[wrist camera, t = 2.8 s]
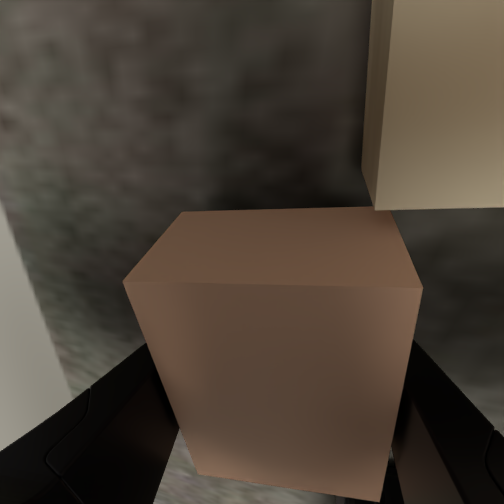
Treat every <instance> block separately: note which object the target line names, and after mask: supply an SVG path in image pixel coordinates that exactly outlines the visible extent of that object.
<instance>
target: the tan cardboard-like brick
mask: <svg viewBox="0 0 504 504" xmlns="http://www.w3.org/2000/svg"><path fill="white" fill-rule="evenodd" d="M122 282H123V285H124V287H125V290H126V292H127V295H128V297H129V300H130V302H131V305H132V308H133V310H134V313H135V315H136V318H137V320H138V323H139V325H140V328H141V330H142V333H143V336H144V338H145V341H146V343H147V346H148V348H149V351H150V353H151V356H152V358H153V361H154V363H155V366H156V369H157V371H158V374H159V376H160V379H161V381H162V384H163V386H164V389H165V391H166V394H167V397H168V399H169V402H170V404H171V407H172V409H173V412H174V414H175V417H176V419H177V422H178V424H179V427H180V430H181V432H182V435H183V437H184V440H185V442H186V445H187V447H188V450H189V452H190V455H191V458H192V460H193V463H194V465H195V468H196V470H197V473H198V474H200V475H207V476H213V477H220V478H226V479H233V480H239V481H245V482H252V483H258V484H265V485H271V486H278V487H284V488H291V489H297V490H304V491H310V492H317V493H323V494H329V495H336V496H342V497H349V498H355V499H362V500H368V501H375V502H380V498H381V493H382V488H383V483H384V478H385V473H386V468H387V463H388V458H389V453H390V449H391V444H392V439H393V434H394V429H395V424H396V419H397V414H398V409H399V404H400V399H401V394H402V390H403V385H404V380H405V375H406V370H407V365H408V360H409V355H410V350H411V345H412V340H413V335H414V331H415V326H416V321H417V316H418V311H419V306H420V301H421V296H422V291H423V286H422V284H421V282H420V279H419V277H418V275H417V272H416V270H415V268H414V265H413V263H412V260H411V258H410V256H409V253H408V251H407V249H406V246H405V244H404V242H403V239H402V237H401V235H400V232H399V230H398V227H397V225H396V223H395V220H394V218H393V216H392V213H391V211H390V210H374V207H373V206H368V207H333V208H297V209H261V210H226V211H190V212H181V213H180V215H179V216H178V217H177V218H176V219H175V220H174V222H173V223H172V224H171V225H170V226H169V227H168V229H167V230H166V231H165V232H164V233H163V234H162V236H161V237H160V238H159V239H158V240H157V241H156V243H155V244H154V245H153V246H152V247H151V248H150V250H149V251H148V252H147V253H146V254H145V255H144V257H143V258H142V259H141V260H140V261H139V262H138V264H137V265H136V266H135V267H134V268H133V269H132V270H131V272H130V273H129V274H128V275H127V276H126V277H125V279H124V280H123V281H122Z"/></svg>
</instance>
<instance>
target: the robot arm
mask: <svg viewBox="0 0 504 504" xmlns="http://www.w3.org/2000/svg"><path fill="white" fill-rule="evenodd" d="M179 428H180V427H179V424H178V422H177V419H176V417H175V414H174V412H173V409H172V407H171V404H170V402H169V399H168V397H167V394H166V391H165V389H164V386H163V384H162V381H161V379H160V376H159V374H158V371H157V369H156V366H155V363H154V361H153V358H152V356H151V353H150V351H149V348H148V346H147V343H145V344H144V345H142V346H141V347H140V348H139V349H137V350H136V351H135V352H134V353H132V354H131V355H130V356H128V357H127V358H126V359H125V360H123V361H122V362H121V363H120V364H118V365H117V366H116V367H114V368H113V369H112V370H111V371H109V372H108V373H107V374H106V375H104V376H103V377H102V378H100V379H99V380H98V381H97V382H95V383H94V384H93V385H92V386H91V387H90V388H88V389H86V390H85V391H84V392H82V393H81V394H80V395H79V396H77V397H76V398H75V399H73V400H72V401H71V402H70V403H68V404H67V405H66V406H64V407H63V408H62V409H60V410H59V411H58V412H56V413H55V414H53V415H52V416H51V417H49V418H48V419H46V420H45V421H44V422H43V423H41V424H39V425H38V426H37V427H35V428H34V429H32V430H31V431H29V432H28V433H26V434H25V435H24V436H22V437H21V438H19V439H18V440H16V441H15V442H13V443H12V444H10V445H9V446H7V447H6V448H5V449H3V450H2V451H0V504H153V502H154V499H155V496H156V493H157V491H158V488H159V485H160V482H161V479H162V476H163V474H164V471H165V468H166V465H167V462H168V459H169V457H170V454H171V451H172V448H173V445H174V442H175V440H176V437H177V434H178V431H179ZM391 447H392V452H393V456H394V460H395V465H396V468H391V467H387V468H386V473H385V478H384V483H383V488H382V493H381V498H380V502H375V501H368V500H362V499H355V498H349V497H342V496H336V500H335V504H504V437H503V436H502V435H501V434H500V432H499V431H497V430H494V426H493V425H492V424H491V423H490V422H489V421H488V420H487V419H486V417H485V416H484V415H483V414H482V413H481V412H480V411H479V410H478V409H477V408H476V407H475V406H474V404H473V403H472V402H471V401H470V400H469V399H468V398H467V397H466V396H465V395H464V394H463V393H462V391H461V390H460V389H459V388H458V387H457V386H456V385H455V384H454V383H453V382H452V381H451V379H450V378H449V377H448V376H447V375H446V374H445V373H444V372H443V371H442V370H441V369H440V368H439V366H438V365H437V364H436V363H435V362H434V361H433V360H432V359H431V358H430V357H429V356H428V355H427V353H426V352H425V351H424V350H423V349H422V348H421V347H420V346H419V345H418V344H417V343H416V342H415V340H414V339H413V340H412V345H411V350H410V355H409V360H408V365H407V370H406V375H405V380H404V385H403V390H402V394H401V399H400V404H399V409H398V414H397V419H396V424H395V429H394V434H393V439H392V444H391Z"/></svg>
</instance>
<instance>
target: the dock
mask: <svg viewBox="0 0 504 504" xmlns="http://www.w3.org/2000/svg"><path fill="white" fill-rule="evenodd" d="M361 170H362V173H363V176H364V179H365V182H366V185H367V188H368V191H369V194H370V198H371V201H372V204H373V207H374V210H412V209H451V208H491V207H504V0H372V8H371V24H370V39H369V55H368V71H367V86H366V102H365V117H364V133H363V149H362V164H361Z"/></svg>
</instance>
